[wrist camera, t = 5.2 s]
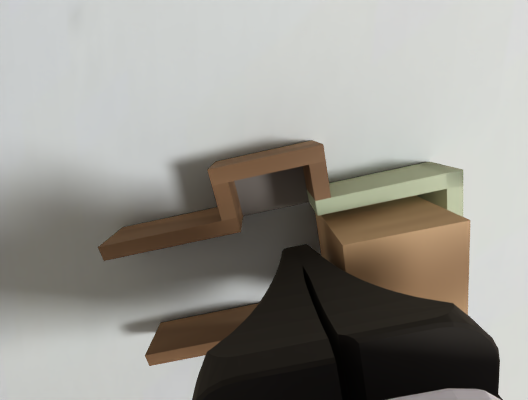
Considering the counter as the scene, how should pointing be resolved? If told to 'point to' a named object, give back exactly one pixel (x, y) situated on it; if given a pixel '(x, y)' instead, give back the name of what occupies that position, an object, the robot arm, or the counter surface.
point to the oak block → (401, 247)
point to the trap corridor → (264, 199)
